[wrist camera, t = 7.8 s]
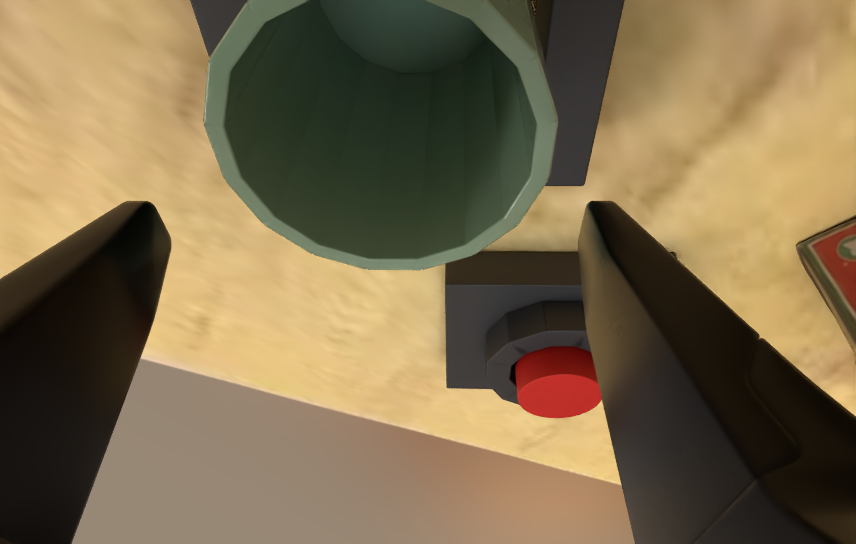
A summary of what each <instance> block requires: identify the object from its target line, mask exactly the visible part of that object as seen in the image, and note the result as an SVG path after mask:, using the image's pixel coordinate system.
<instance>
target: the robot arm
mask: <svg viewBox="0 0 856 544" xmlns="http://www.w3.org/2000/svg"><path fill="white" fill-rule="evenodd" d="M170 252H171V238H170V235H169V233H168V231H167V229H166V227H165V225H164V223H163V221H162V219H161V217H160V215H159V213H158V211H157V209H156V207H155V206H154V205H153V204H152V203H151V202H148V201H127V202H124V203H122V204H120V205H119V206H117V207H115V208H114V209H112V210H111V211H109V212H107V213H106V214H104V215H103V216H101V217H99V218H98V219H96V220H94V221H93V222H91V223H90V224H88V225H86V226H85V227H83V228H82V229H80V230H78V231H77V232H75V233H74V234H72V235H70V236H69V237H67V238H66V239H64V240H62V241H61V242H59V243H57V244H56V245H54V246H53V247H51V248H49V249H48V250H46V251H45V252H43V253H41V254H40V255H38V256H37V257H35V258H33V259H32V260H30V261H28V262H27V263H25V264H24V265H22V266H20V267H19V268H17V269H16V270H14V271H12V272H11V273H9V274H8V275H6V276H4V277H3V278H1V279H0V544H72V541H73V538H74V536H75V533H76V530H77V527H78V525H79V522H80V519H81V517H82V514H83V511H84V508H85V506H86V503H87V501H88V498H89V495H90V492H91V490H92V487H93V484H94V481H95V478H96V476H97V474H98V471H99V468H100V465H101V463H102V460H103V457H104V455H105V452H106V449H107V446H108V444H109V441H110V438H111V435H112V433H113V430H114V427H115V425H116V422H117V420H118V417H119V414H120V411H121V408H122V406H123V403H124V401H125V398H126V395H127V392H128V390H129V387H130V384H131V382H132V379H133V376H134V374H135V371H136V368H137V366H138V363H139V360H140V357H141V355H142V352H143V349H144V347H145V344H146V341H147V339H148V336H149V333H150V330H151V327H152V324H153V321H154V318H155V314H156V310H157V306H158V302H159V298H160V294H161V290H162V285H163V281H164V277H165V273H166V269H167V264H168V260H169V256H170ZM578 254H579V265H580V275H581V286H582V296H583V307H584V316H585V325H586V331H587V336H588V341H589V345H590V349H591V354H592V358H593V362H594V367H595V371H596V375H597V380H598V384H599V388H600V393H601V397H602V402H603V406H604V410H605V415H606V419H607V423H608V428H609V432H610V436H611V441H612V445H613V449H614V454H615V458H616V463H617V467H618V471H619V476H620V480H621V484H622V489H623V493H624V497H625V502H626V506H627V510H628V514H629V519H630V524H631V528H632V532H633V537H634V540H635V544H856V416H854V415H853V414H852V413H851V412H849V411H848V410H847V409H846V408H844V407H843V406H842V405H841V404H839V403H838V402H837V401H836V400H834V399H833V398H832V397H831V396H829V395H828V394H827V393H826V392H824V391H823V390H822V389H821V388H819V387H818V386H817V385H816V384H814V383H813V382H812V381H811V380H810V379H809V378H807V377H806V376H805V375H804V374H803V373H802V372H801V371H799V370H798V369H797V368H796V367H795V366H794V365H793V364H791V363H790V362H789V361H788V360H787V359H786V358H785V357H783V356H782V355H781V354H780V353H779V352H778V351H777V350H776V349H775V348H774V347H773V346H771V345H770V344H769V343H768V342H767V341H766V340H765V339H763V338H760V339H759V334H758V333H757V332H756V331H755V330H754V329H753V328H751V327H750V326H749V325H748V324H747V323H746V322H745V321H744V320H743V319H742V318H741V317H739V316H738V315H737V314H736V313H735V312H734V311H733V310H732V309H731V308H730V307H729V306H727V305H726V304H725V303H724V302H723V301H722V300H721V299H720V298H719V297H718V296H717V295H715V294H714V293H713V292H712V291H711V290H710V289H709V288H708V287H707V286H706V285H705V284H703V283H702V282H701V281H700V280H699V279H698V278H697V277H696V276H695V275H694V274H693V273H691V272H690V271H689V270H688V269H687V268H686V267H685V266H684V265H683V264H682V263H680V262H679V261H678V260H677V259H676V258H675V257H674V256H673V255H672V254H671V253H670V252H668V251H667V250H666V249H665V248H664V247H663V246H662V245H661V244H660V243H659V242H658V241H656V240H655V239H654V238H653V237H652V236H651V235H650V234H649V233H648V232H647V231H646V230H644V229H643V228H642V227H641V226H640V225H639V224H638V223H637V222H636V221H635V220H634V219H632V218H631V217H630V216H629V215H628V214H627V213H626V212H625V211H624V210H623V209H622V208H620V207H619V206H618V205H617V204H616V203H614V202H612V201H591V202H589V203H588V204H587V206H586V208H585V213H584V217H583V221H582V226H581V230H580V234H579V240H578Z"/></svg>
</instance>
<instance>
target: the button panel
mask: <svg viewBox="0 0 856 544" xmlns="http://www.w3.org/2000/svg"><path fill="white" fill-rule="evenodd" d="M671 254H672V255H673V256H674V257H675V258H676V259H677V257H676V254H675V253H671ZM445 313H446V381H447V388H462V389H493V390H494V391H495V392H496V393H497V394H498V395H499V396H500V397H501V398H502V399H503V400H506V401H510V402H513V403H516V404H519V402H518V397H517V385H516V373H515V367H516V364H517V362H518V360H519V359H520V358H521V357H522V356H524V355H525V354H526V353H530V352H533V351H536V350H540V349H543V348H546V347H550V346H576V347H579V348H582V349H584V350H587V351H589V352H591V349H590V345H589V341H588V336H587V331H586V325H585V316H584V307H583V296H582V286H581V275H580V265H579V254H578V253H552V252H478V253H477V254H475V255H474V254H473V256H470V257H466V258H463V259H459V260H456V261H452V262H449V263H446V268H445ZM519 405H520V404H519Z"/></svg>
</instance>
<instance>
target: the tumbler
mask: <svg viewBox="0 0 856 544" xmlns="http://www.w3.org/2000/svg"><path fill="white" fill-rule="evenodd" d="M203 121H204V126H205V129H206V132H207V134H208V137H209V140H210V142H211V145H212V148H213V150H214V153H215V156H216V158H217V161H218V164H219V166H220V169H221V172H222V174H223V177H224V179H225V180H226V182H227V183H228V184H229V186H230V187H231V188H232V189H233V190H234V191H235V192H236V194H237V195H238V196H239V197H240V198H241V199H242V200H243V202H244V203H245V204H246V205H247V206H248V207H249V208H250V210H251V211H252V212H253V213H254V214H255V215H256V216H257V218H258V219H259V220H260V221H261V222H262V223H263V224H264V225H265V226H267V227H268V228H270V229H272V230H273V231H275V232H277V233H278V234H280V235H282V236H283V237H285V238H286V239H288V240H290V241H291V242H293V243H295V244H296V245H298V246H300V247H301V248H303V249H304V250H306V251H308V252H309V253H311V254H314V255H316V256H320V257H323V258H327V259H330V260H334V261H338V262H341V263H345V264H348V265H352V266H355V267H359V268H362V269H368V270H421V269H422V270H424V269H428V268H431V267H435V266H438V265H442V264H445V263H449V262H452V261H456V260H459V259H463V258H466V257H470V256H473V254H474V255H475V254H477V253H478V252H479V251H481V250H482V249H484V248H485V247H487V246H488V245H490V244H491V243H493V242H494V241H496V240H497V239H498V238H500V237H501V236H503V235H504V234H506V233H507V232H509V231H510V230H512V229H513V228H515V227H516V226H517V225H518V224H519V223H520V222H521V220H522V219H523V217H524V216H525V214H526V213H527V211H528V210H529V208H530V207H531V205H532V204H533V202H534V201H535V199H536V198H537V196H538V195H539V193H540V192H541V190H542V189H543V187H544V186H545V184H546V183H547V181H548V178H549V177H550V172H551V165H552V159H553V153H554V146H555V140H556V134H557V127H558V115H557V111H556V107H555V102H554V98H553V94H552V89H551V85H550V81H549V77H548V72H547V68H546V64H545V59H544V55H543V51H542V47H541V42H540V38H539V34H538V30H537V25H536V21H535V17H534V12H533V8H532V4H531V0H247V2H246V3H245V5H244V6H243V8H242V9H241V11H240V12H239V14H238V15H237V17H236V18H235V20H234V21H233V23H232V24H231V26H230V27H229V29H228V30H227V32H226V33H225V35H224V36H223V38H222V39H221V41H220V42H219V44H218V45H217V47H216V48H215V50H214V51H213V53H212V54H211V56H210V60H209V61H208V70H207V82H206V95H205V107H204V119H203Z"/></svg>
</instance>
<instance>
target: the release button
mask: <svg viewBox="0 0 856 544" xmlns="http://www.w3.org/2000/svg"><path fill="white" fill-rule="evenodd" d="M515 373H516V385H517V397H518V402H519V404H520V406H521V407H522V408H523V409H524V410H526V411H527V412H529V413H531V414H534V415H537V416H541V417H547V418H565V417H572V416H576V415H580V414H583V413H585V412H587V411H590V410H591V409H593V408H594V407H596V406H597V405H598V404H599V403H600V401H601V400H602V397H601V393H600V388H599V384H598V380H597V375H596V371H595V367H594V362H593V358H592V354H591V352H589V351H587V350H584V349H582V348H579V347H576V346H550V347H546V348H543V349H540V350H536V351H533V352H530V353H526V354H525V355H524V356H522V357H521V358H520V359H519V360H518V362H517V364H516V367H515Z"/></svg>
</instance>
